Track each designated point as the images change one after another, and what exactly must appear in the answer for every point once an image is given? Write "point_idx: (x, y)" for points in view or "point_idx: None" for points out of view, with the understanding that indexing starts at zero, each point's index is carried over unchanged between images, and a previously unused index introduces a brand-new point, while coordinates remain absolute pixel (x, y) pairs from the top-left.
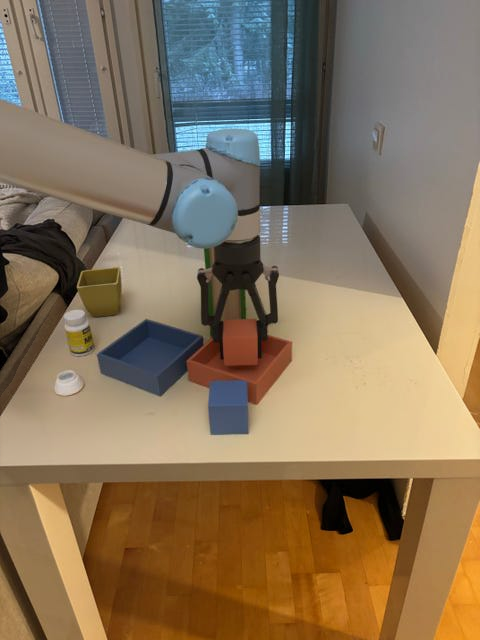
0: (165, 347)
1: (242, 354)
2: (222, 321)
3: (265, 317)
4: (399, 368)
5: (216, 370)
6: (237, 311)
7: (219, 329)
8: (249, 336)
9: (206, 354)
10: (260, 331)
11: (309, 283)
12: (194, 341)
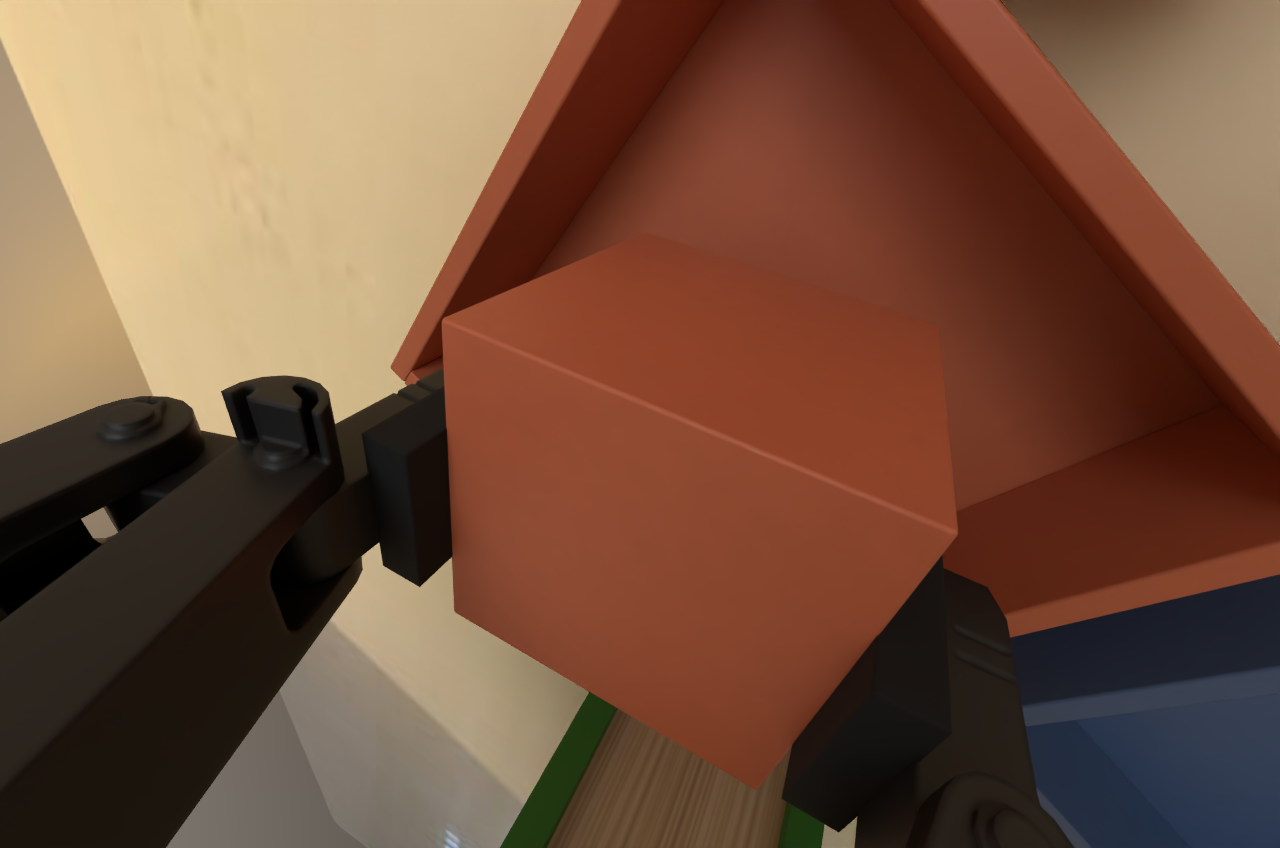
0: (1194, 777)
1: (731, 305)
2: (794, 799)
3: (153, 509)
4: (107, 96)
5: (1146, 194)
6: (623, 750)
7: (934, 719)
8: (532, 370)
9: (991, 555)
10: (412, 414)
11: (402, 680)
12: (1069, 715)
